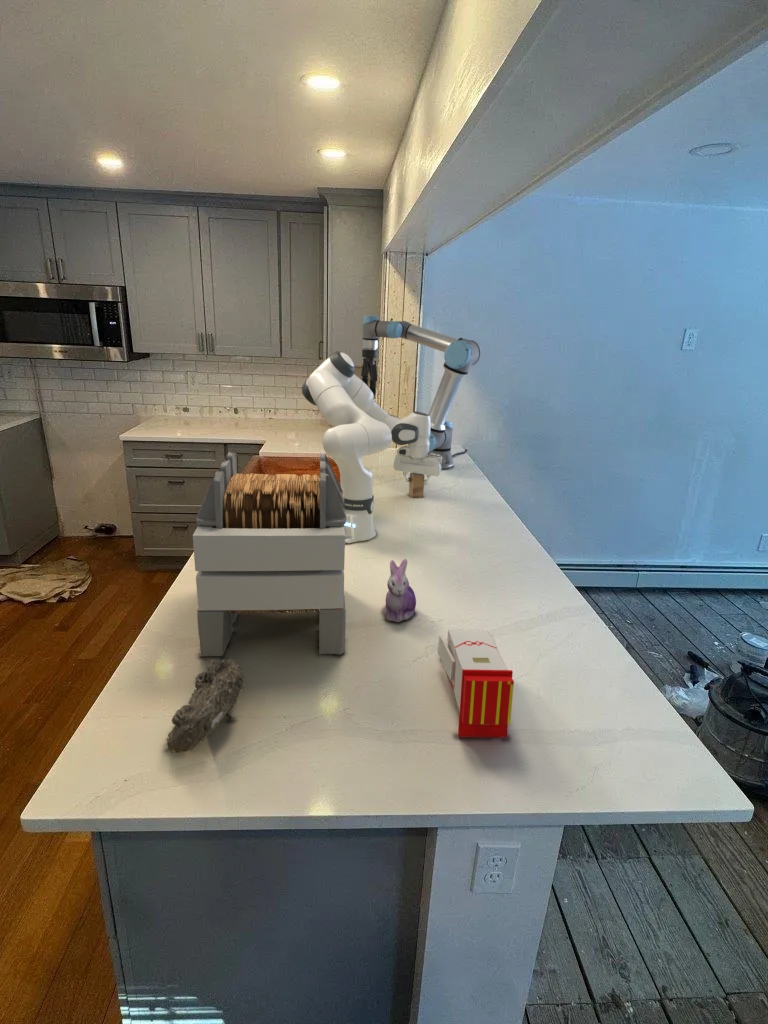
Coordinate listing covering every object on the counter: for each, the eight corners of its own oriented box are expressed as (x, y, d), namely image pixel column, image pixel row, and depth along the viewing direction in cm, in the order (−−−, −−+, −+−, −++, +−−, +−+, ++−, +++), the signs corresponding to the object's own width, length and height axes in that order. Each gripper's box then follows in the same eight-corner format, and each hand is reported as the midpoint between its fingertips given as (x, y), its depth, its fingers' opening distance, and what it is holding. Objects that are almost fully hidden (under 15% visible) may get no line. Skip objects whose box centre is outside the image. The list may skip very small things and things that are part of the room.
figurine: (392, 627, 141) (395, 572, 136) (374, 608, 149) (376, 556, 144) (425, 619, 145) (429, 566, 140) (405, 601, 154) (408, 550, 149)
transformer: (222, 587, 157) (213, 443, 143) (340, 586, 160) (343, 445, 147) (197, 659, 125) (183, 482, 111) (345, 655, 129) (349, 484, 115)
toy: (488, 613, 130) (523, 677, 101) (484, 667, 133) (517, 744, 104) (435, 612, 130) (455, 676, 101) (432, 666, 133) (451, 743, 103)
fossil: (192, 660, 117) (244, 628, 112) (224, 691, 120) (276, 661, 115) (142, 746, 98) (202, 712, 93) (182, 779, 101) (242, 748, 96)
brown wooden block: (423, 497, 240) (424, 475, 237) (412, 497, 239) (413, 475, 236) (419, 493, 245) (420, 472, 241) (408, 494, 243) (409, 472, 240)
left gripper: (444, 452, 234) (442, 484, 239) (398, 446, 241) (396, 477, 246) (440, 455, 229) (438, 488, 234) (393, 449, 235) (391, 481, 240)
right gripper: (385, 351, 267) (383, 396, 274) (370, 347, 289) (368, 389, 296) (369, 351, 264) (368, 397, 271) (355, 347, 286) (354, 389, 294)
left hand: (416, 483), depth 240 cm, fingers closed on brown wooden block, 7 cm apart
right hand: (368, 393), depth 284 cm, fingers open, 13 cm apart
